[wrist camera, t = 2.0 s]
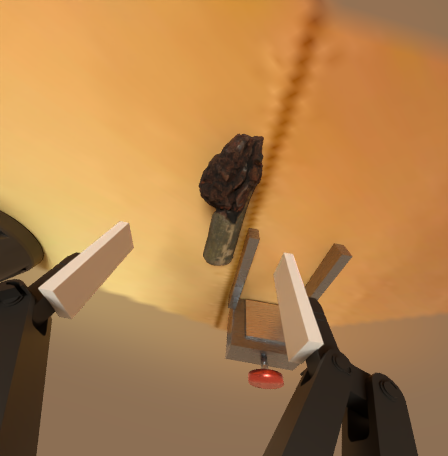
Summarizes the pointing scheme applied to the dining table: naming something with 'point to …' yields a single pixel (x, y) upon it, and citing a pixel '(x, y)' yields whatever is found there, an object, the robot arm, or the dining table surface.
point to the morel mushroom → (230, 193)
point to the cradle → (269, 317)
